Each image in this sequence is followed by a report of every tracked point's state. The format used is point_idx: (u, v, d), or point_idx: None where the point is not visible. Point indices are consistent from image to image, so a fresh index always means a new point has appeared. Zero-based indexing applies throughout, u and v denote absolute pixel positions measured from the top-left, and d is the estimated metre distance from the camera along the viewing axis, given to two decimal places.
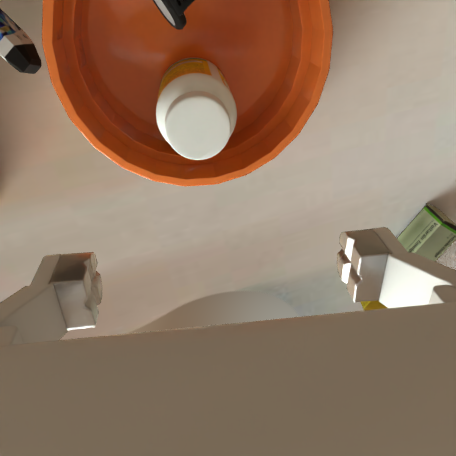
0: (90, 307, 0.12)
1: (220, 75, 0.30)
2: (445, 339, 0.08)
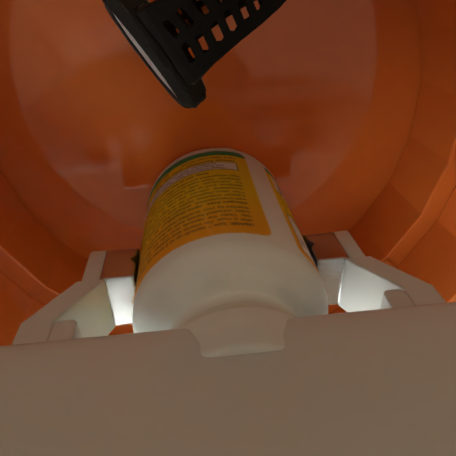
0: None
1: (279, 202, 0.13)
2: (445, 339, 0.08)
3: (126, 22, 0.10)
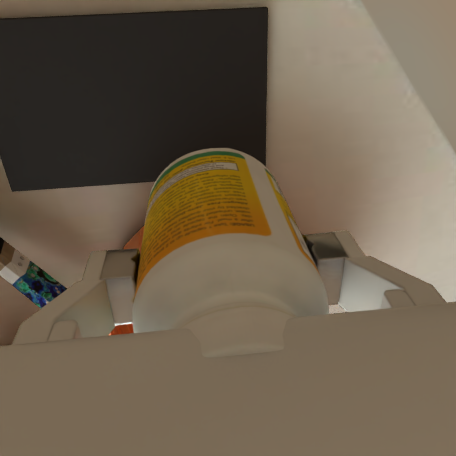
0: None
1: (280, 203, 0.13)
2: (445, 339, 0.08)
3: None
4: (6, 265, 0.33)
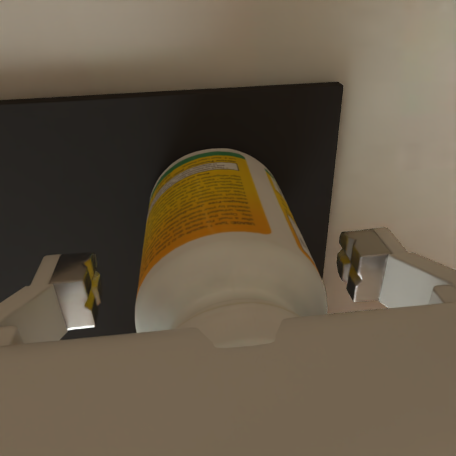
0: (90, 307, 0.12)
1: (279, 202, 0.14)
2: (445, 339, 0.08)
3: None
4: None
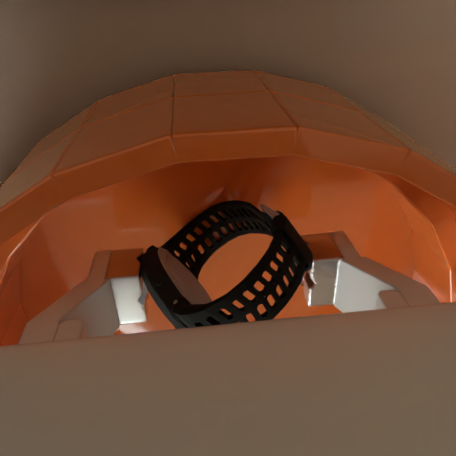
0: (143, 302, 0.13)
1: None
2: (445, 339, 0.08)
3: (162, 309, 0.12)
4: None
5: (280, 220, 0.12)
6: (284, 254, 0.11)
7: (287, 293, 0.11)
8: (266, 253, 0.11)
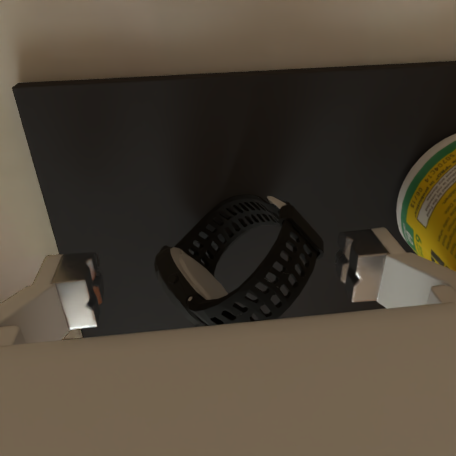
0: (92, 307, 0.12)
1: None
2: (445, 339, 0.08)
3: (178, 307, 0.12)
4: None
5: (287, 210, 0.12)
6: (293, 243, 0.11)
7: (299, 282, 0.11)
8: (275, 244, 0.11)
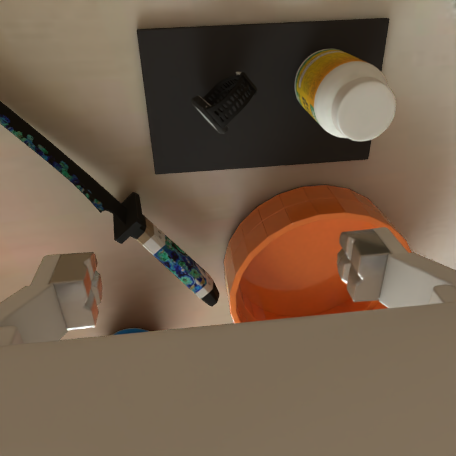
0: (90, 307, 0.12)
1: None
2: (445, 339, 0.08)
3: (202, 111, 0.32)
4: (150, 237, 0.39)
5: (242, 73, 0.31)
6: (244, 85, 0.31)
7: (246, 99, 0.31)
8: (237, 84, 0.31)
